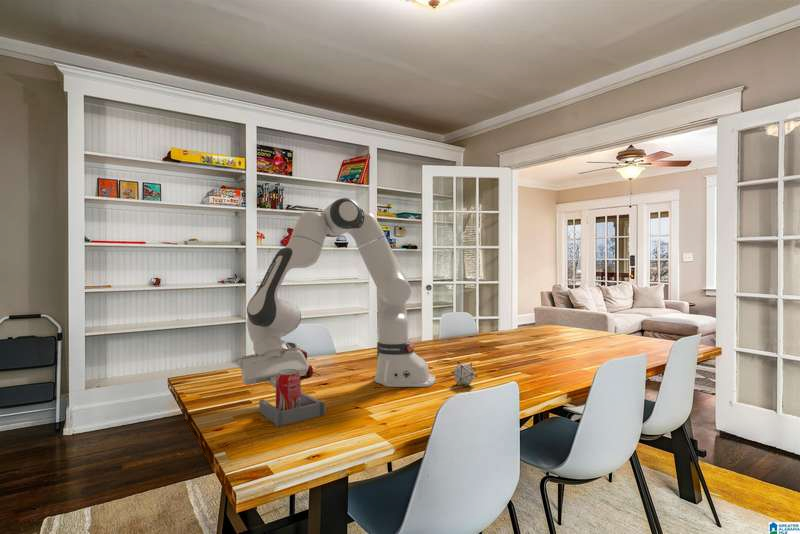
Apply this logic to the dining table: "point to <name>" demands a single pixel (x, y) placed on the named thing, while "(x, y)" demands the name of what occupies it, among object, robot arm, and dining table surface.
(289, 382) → the soda can
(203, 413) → the dining table surface
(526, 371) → the dining table surface
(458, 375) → the game die
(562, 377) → the dining table surface
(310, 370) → the toy fire truck
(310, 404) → the corral
